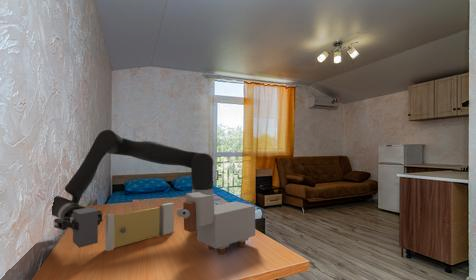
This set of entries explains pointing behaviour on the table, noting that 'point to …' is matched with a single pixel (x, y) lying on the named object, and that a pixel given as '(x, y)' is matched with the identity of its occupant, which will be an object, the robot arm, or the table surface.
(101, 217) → the robot arm
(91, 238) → the rubber block
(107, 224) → the wall frame
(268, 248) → the table surface
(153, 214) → the door
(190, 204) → the toy
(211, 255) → the table surface
